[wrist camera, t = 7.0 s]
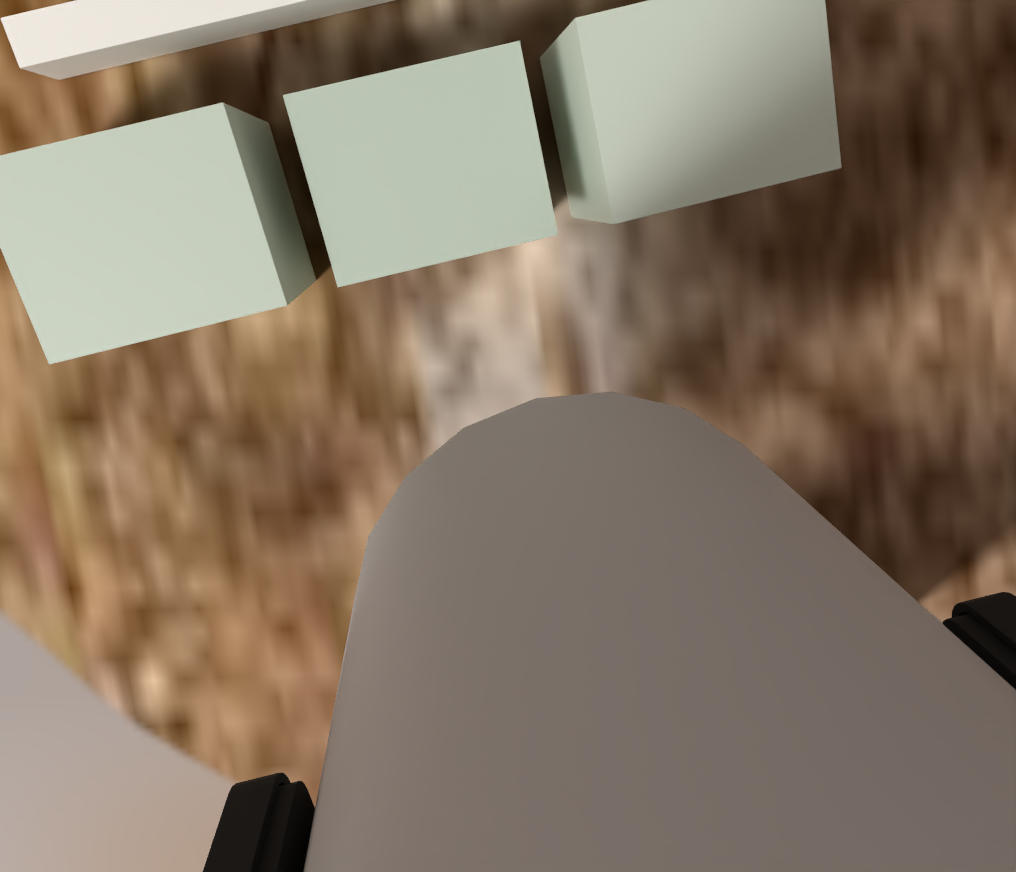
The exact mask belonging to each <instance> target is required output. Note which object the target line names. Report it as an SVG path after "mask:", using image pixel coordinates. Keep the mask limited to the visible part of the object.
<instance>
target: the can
mask: <svg viewBox="0 0 1016 872" xmlns="http://www.w3.org/2000/svg"><path fill="white" fill-rule="evenodd" d="M303 872H1016V690H1015V689H1014V688H1013V687H1012V686H1011V685H1010V684H1009V683H1007V682H1006V681H1005V680H1004V679H1003V678H1002V677H1001V676H1000V675H999V674H997V673H996V672H995V671H994V670H993V669H992V668H991V667H990V666H989V665H987V664H986V663H985V662H984V661H983V660H982V659H981V658H980V657H979V656H977V655H976V654H975V653H974V652H973V651H972V650H971V649H970V648H969V647H967V646H966V645H965V644H964V643H963V642H962V641H961V640H960V639H959V638H957V637H956V636H955V635H954V634H953V633H952V632H951V631H950V630H949V629H947V628H946V627H945V626H944V625H943V624H942V623H941V622H940V621H939V620H937V619H936V618H935V617H934V616H933V615H932V614H931V613H930V612H929V611H927V610H926V609H925V608H924V607H923V606H922V605H921V604H920V603H919V602H917V601H916V600H915V599H914V598H913V597H912V596H911V595H910V594H909V593H907V592H906V591H905V590H904V589H903V588H902V587H901V586H900V585H899V584H897V583H896V582H895V581H894V580H893V579H892V578H891V577H890V576H889V575H887V574H886V573H885V572H884V571H883V570H882V569H881V568H880V567H879V566H877V565H876V564H875V563H874V562H873V561H872V560H871V559H870V558H869V557H867V556H866V555H865V554H864V553H863V552H862V551H861V550H860V549H859V548H857V547H856V546H855V545H854V544H853V543H852V542H851V541H850V540H849V539H847V538H846V537H845V536H844V535H843V534H842V533H841V532H840V531H839V530H837V529H836V528H835V527H834V526H833V525H832V524H831V523H830V522H829V521H827V520H826V519H825V518H824V517H823V516H822V515H821V514H820V513H819V512H817V511H816V510H815V509H814V508H813V507H812V506H811V505H810V504H809V503H807V502H806V501H805V500H804V499H803V498H802V497H801V496H800V495H799V494H797V493H796V492H795V491H794V490H793V489H792V488H791V487H790V486H789V485H787V484H786V483H785V482H784V481H783V480H782V479H781V478H780V477H779V476H778V475H776V474H775V473H774V472H773V471H772V470H771V469H770V468H769V467H768V466H766V465H765V464H764V463H763V462H762V461H761V460H760V459H759V458H758V457H756V456H755V455H754V454H753V453H752V452H751V451H750V450H749V449H748V448H746V447H745V446H744V445H743V444H741V443H740V442H738V441H736V440H735V439H733V438H732V437H730V436H728V435H727V434H725V433H724V432H722V431H720V430H719V429H717V428H716V427H714V426H712V425H711V424H709V423H707V422H706V421H704V420H703V419H701V418H699V417H698V416H696V415H695V414H693V413H691V412H690V411H688V410H687V409H685V408H681V407H677V406H673V405H668V404H664V403H659V402H655V401H651V400H646V399H642V398H637V397H633V396H629V395H624V394H620V393H616V392H604V393H593V394H581V395H570V396H558V397H547V398H536V399H533V400H531V401H528V402H526V403H523V404H521V405H519V406H516V407H514V408H511V409H509V410H506V411H504V412H501V413H499V414H496V415H494V416H492V417H489V418H487V419H484V420H482V421H479V422H477V423H474V424H472V425H470V426H467V427H465V428H463V429H462V430H461V431H460V432H458V433H457V434H456V435H455V436H453V437H452V438H451V439H450V440H449V441H447V442H446V443H445V444H444V445H443V446H441V447H440V448H439V449H438V450H437V451H435V452H434V453H433V454H432V455H431V456H429V457H428V458H427V459H426V460H425V461H423V462H422V463H421V464H420V465H419V466H417V467H416V468H415V469H414V470H412V471H411V472H410V473H409V474H408V475H406V477H405V478H404V480H403V482H402V483H401V485H400V486H399V488H398V490H397V491H396V493H395V494H394V496H393V498H392V499H391V501H390V502H389V504H388V506H387V507H386V509H385V510H384V512H383V514H382V515H381V517H380V518H379V520H378V522H377V523H376V525H375V526H374V528H373V530H372V531H371V533H370V534H369V536H368V540H367V545H366V549H365V554H364V558H363V563H362V568H361V572H360V577H359V581H358V586H357V590H356V595H355V599H354V604H353V610H352V615H351V620H350V626H349V631H348V636H347V642H346V647H345V652H344V658H343V663H342V668H341V674H340V679H339V684H338V690H337V695H336V700H335V706H334V711H333V716H332V722H331V727H330V732H329V737H328V743H327V748H326V753H325V759H324V764H323V769H322V775H321V780H320V785H319V791H318V796H317V801H316V807H315V812H314V817H313V823H312V828H311V833H310V839H309V844H308V849H307V855H306V860H305V865H304V871H303Z"/></svg>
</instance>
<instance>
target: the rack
mask: <svg viewBox="0 0 1016 872" xmlns="http://www.w3.org/2000/svg"><path fill="white" fill-rule="evenodd" d="M390 1H394V0H76V1H71V2H67V3H63V4H58V5H54V6H50V7H46V8H41V9H37V10H33V11H29V12H24V13H20V14H16V15H11V16H7V17H3V18H1V21H2V23H3V26H4V28H5V31H6V34H7V36H8V39H9V41H10V44H11V46H12V49H13V52H14V54H15V57H16V59H17V62H18V65H19V67H20V68H21V69H25V70H28V71H31V72H35V73H38V74H41V75H44V76H48V77H51V78H54V79H58V80H61V79H65V78H69V77H73V76H78V75H82V74H86V73H90V72H94V71H99V70H103V69H107V68H111V67H116V66H120V65H124V64H128V63H132V62H137V61H141V60H145V59H149V58H154V57H158V56H162V55H166V54H170V53H175V52H179V51H183V50H187V49H192V48H196V47H200V46H204V45H209V44H213V43H217V42H221V41H225V40H230V39H234V38H238V37H242V36H247V35H251V34H255V33H259V32H263V31H268V30H272V29H276V28H280V27H285V26H289V25H293V24H297V23H301V22H306V21H310V20H314V19H318V18H323V17H327V16H331V15H335V14H339V13H344V12H348V11H352V10H356V9H361V8H365V7H369V6H373V5H377V4H382V3H386V2H390ZM926 610H927V609H926ZM927 611H928V610H927ZM931 614H932V613H931ZM932 615H933V614H932ZM933 616H934V615H933ZM934 617H935V616H934ZM935 618H936V617H935ZM936 619H937V620H939V619H938V618H936ZM939 621H940V620H939ZM940 622H941V621H940ZM941 623H942V622H941Z"/></svg>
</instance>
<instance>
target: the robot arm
mask: <svg viewBox="0 0 1016 872" xmlns="http://www.w3.org/2000/svg"><path fill="white" fill-rule="evenodd" d="M942 624H943V625H944V626H945V627H946V628H947V629H949V630H950V631H951V632H952V633H953V634H954V635H955V636H956V637H957V638H959V639H960V640H961V641H962V642H963V643H964V644H965V645H966V646H967V647H969V648H970V649H971V650H972V651H973V652H974V653H975V654H976V655H977V656H979V657H980V658H981V659H982V660H983V661H984V662H985V663H986V664H987V665H989V666H990V667H991V668H992V669H993V670H994V671H995V672H996V673H997V674H999V675H1000V676H1001V677H1002V678H1003V679H1004V680H1005V681H1006V682H1007V683H1009V684H1010V685H1011V686H1012V687H1013V688H1014V689H1015V690H1016V596H1014V595H1012V594H1011V593H1007V592H1001V593H997V594H993V595H989V596H985V597H981V598H977V599H973V600H969V601H965V602H961V603H958V604H956V605H955V606H954V608H953V611H952V618H949V619H946V620H945V621H943V623H942ZM314 812H315V808H314V805H313V803H312V800H311V797H310V795H309V792H308V790H307V788H306V786H305V784H304V783H303V782H302V781H297V782H293V783H290V781H289V779H288V777H287V776H286V775H285V774H284V773H276V774H272V775H268V776H264V777H260V778H256V779H252V780H248V781H244V782H240V783H236V784H235V785H234V786H232V788H231V790H230V792H229V794H228V797H227V800H226V803H225V806H224V809H223V812H222V815H221V818H220V822H219V824H218V828H217V830H216V833H215V836H214V839H213V842H212V845H211V849H210V852H209V855H208V858H207V861H206V864H205V867H204V870H203V872H303V871H304V865H305V860H306V855H307V849H308V844H309V839H310V833H311V828H312V823H313V817H314Z"/></svg>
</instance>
